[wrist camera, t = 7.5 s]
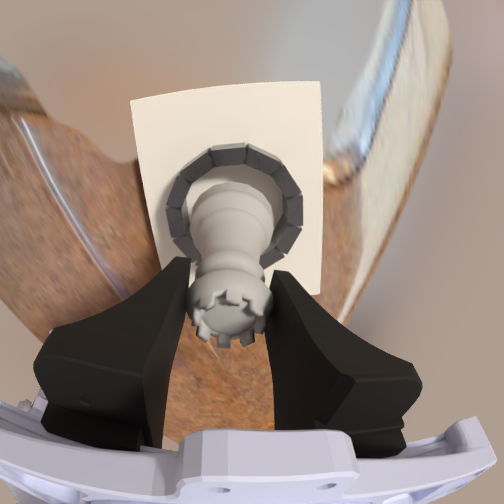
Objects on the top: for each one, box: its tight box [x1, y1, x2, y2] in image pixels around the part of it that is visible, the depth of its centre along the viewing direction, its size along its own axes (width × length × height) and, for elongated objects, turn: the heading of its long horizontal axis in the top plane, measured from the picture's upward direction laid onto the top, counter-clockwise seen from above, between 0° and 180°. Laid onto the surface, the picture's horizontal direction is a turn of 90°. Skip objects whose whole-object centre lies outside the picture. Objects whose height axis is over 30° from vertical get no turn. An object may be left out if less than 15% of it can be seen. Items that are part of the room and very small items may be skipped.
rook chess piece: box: [184, 182, 274, 349], centre depth 14 cm, size 4×4×8 cm
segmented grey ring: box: [165, 142, 303, 270], centre depth 20 cm, size 8×8×2 cm
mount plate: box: [130, 81, 323, 295], centre depth 21 cm, size 16×12×1 cm
